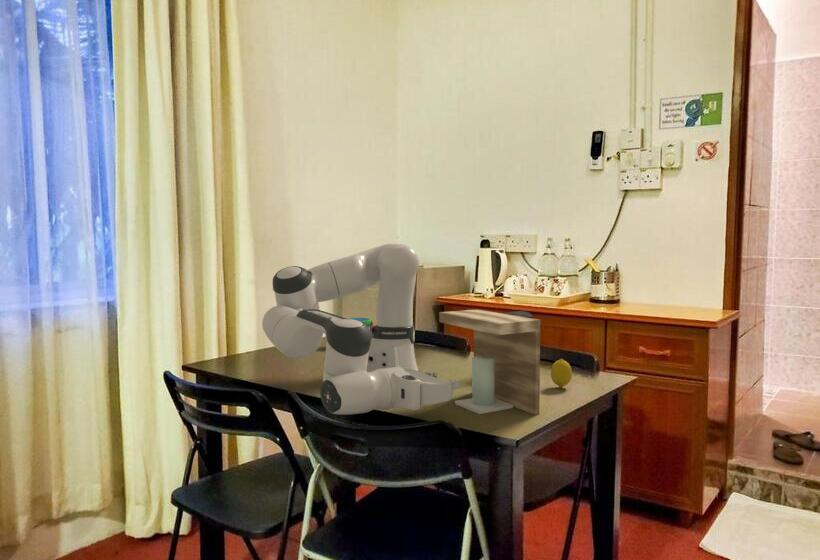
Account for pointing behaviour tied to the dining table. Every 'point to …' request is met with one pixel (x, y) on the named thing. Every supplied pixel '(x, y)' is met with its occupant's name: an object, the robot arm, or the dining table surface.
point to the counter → (504, 356)
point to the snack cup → (364, 321)
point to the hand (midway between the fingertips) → (446, 379)
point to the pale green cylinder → (483, 380)
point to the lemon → (561, 373)
